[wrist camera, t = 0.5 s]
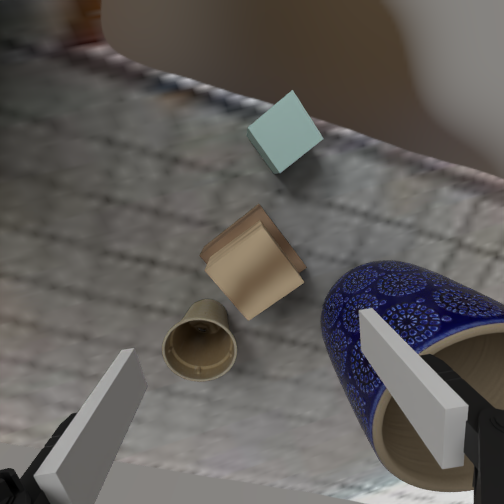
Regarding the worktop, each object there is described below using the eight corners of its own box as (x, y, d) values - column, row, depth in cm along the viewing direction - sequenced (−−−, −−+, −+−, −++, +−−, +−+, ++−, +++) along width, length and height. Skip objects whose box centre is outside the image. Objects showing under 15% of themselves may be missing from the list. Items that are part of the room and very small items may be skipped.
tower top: (210, 257, 34) (204, 270, 29) (259, 219, 32) (262, 227, 28) (247, 301, 36) (248, 321, 31) (295, 267, 34) (304, 282, 30)
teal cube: (246, 135, 34) (247, 127, 28) (283, 104, 33) (292, 89, 27) (273, 173, 36) (280, 173, 30) (309, 144, 35) (323, 138, 29)
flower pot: (238, 288, 40) (237, 317, 32) (238, 341, 43) (237, 381, 34) (176, 288, 40) (158, 318, 31) (180, 342, 42) (165, 382, 34)
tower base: (204, 245, 38) (199, 255, 33) (258, 203, 37) (261, 207, 32) (246, 294, 41) (247, 310, 36) (298, 256, 39) (306, 267, 34)
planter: (440, 257, 40) (636, 337, 20) (401, 358, 45) (528, 501, 25) (324, 238, 38) (413, 306, 19) (298, 345, 43) (345, 487, 24)
